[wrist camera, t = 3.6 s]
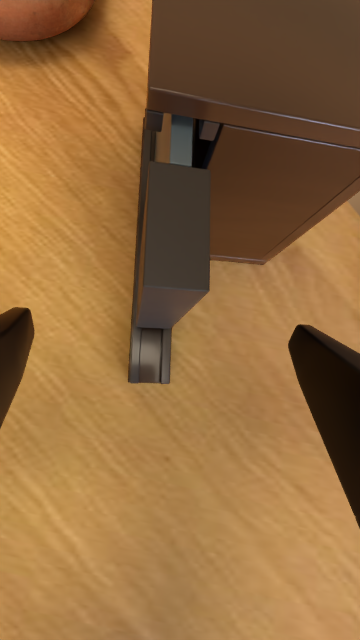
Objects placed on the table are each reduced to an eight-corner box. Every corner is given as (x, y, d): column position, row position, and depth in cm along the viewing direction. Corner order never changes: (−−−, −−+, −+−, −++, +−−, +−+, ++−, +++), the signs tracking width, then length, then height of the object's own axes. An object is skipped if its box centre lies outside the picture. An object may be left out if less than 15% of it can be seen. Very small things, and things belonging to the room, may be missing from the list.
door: (167, 331, 19) (209, 291, 9) (135, 329, 19) (142, 286, 9) (175, 124, 22) (213, -82, 12) (147, 119, 22) (162, -97, 12)
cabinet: (266, 384, 21) (461, 409, 9) (127, 381, 20) (125, 407, 7) (260, 146, 25) (394, -80, 12) (142, 125, 23) (159, -161, 11)
